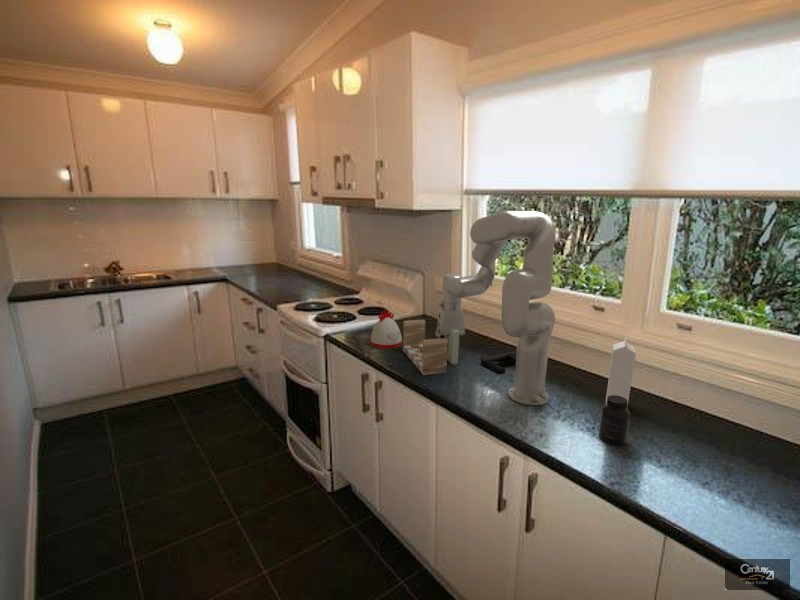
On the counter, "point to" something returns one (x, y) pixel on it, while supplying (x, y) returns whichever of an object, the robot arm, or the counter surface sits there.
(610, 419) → the supplement bottle
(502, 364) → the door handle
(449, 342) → the door panel
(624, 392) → the milk
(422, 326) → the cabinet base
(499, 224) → the robot arm
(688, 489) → the counter surface
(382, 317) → the kitchen timer
